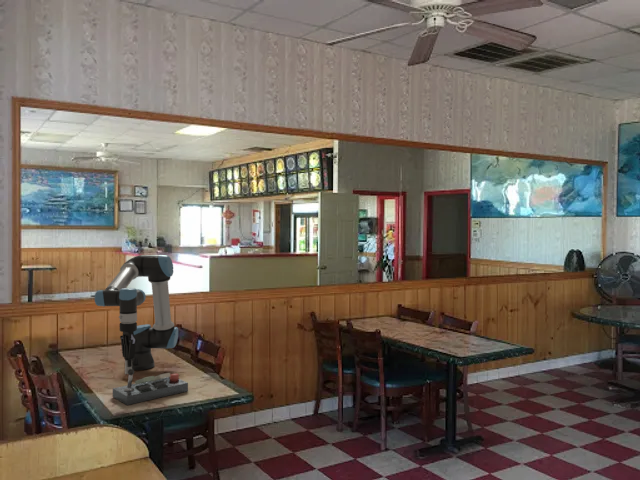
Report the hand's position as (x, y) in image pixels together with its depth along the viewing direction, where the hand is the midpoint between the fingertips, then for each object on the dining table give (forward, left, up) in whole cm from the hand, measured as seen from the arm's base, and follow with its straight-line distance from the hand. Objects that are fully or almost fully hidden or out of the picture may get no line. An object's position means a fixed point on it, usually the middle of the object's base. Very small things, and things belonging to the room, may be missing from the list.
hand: (128, 373), depth 255 cm
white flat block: (0, +8, -5) cm, 9 cm away
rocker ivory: (0, +16, -5) cm, 17 cm away
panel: (0, +11, -12) cm, 16 cm away
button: (0, +23, -8) cm, 24 cm away
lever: (0, 0, -7) cm, 7 cm away
